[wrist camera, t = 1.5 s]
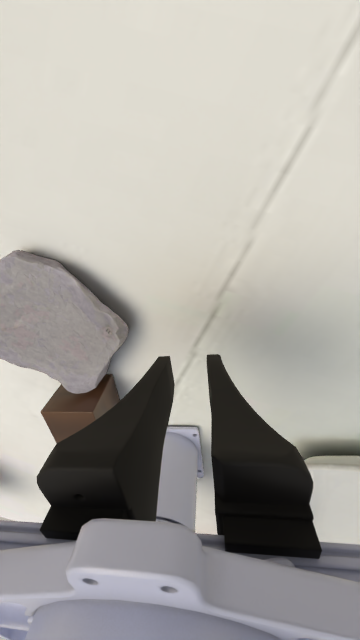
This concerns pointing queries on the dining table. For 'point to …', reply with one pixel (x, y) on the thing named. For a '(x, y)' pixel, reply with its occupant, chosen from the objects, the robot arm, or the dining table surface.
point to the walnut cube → (78, 408)
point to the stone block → (55, 322)
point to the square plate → (336, 498)
